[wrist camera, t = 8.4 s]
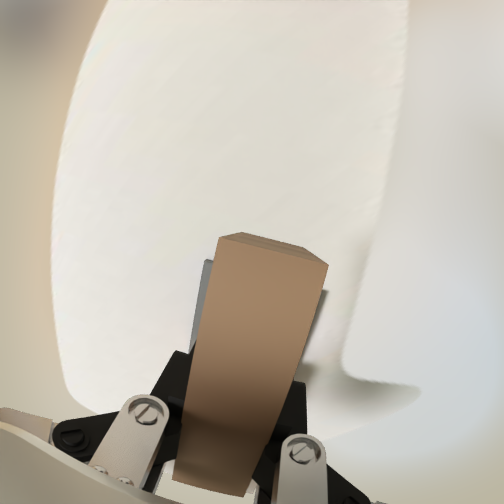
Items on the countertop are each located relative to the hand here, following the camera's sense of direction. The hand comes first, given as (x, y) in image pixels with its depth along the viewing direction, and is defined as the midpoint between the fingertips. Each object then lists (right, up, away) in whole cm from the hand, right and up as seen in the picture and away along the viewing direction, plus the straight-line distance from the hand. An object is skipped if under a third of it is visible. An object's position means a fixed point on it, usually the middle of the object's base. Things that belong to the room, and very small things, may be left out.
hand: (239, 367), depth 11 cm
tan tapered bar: (0, -1, +1) cm, 2 cm away
